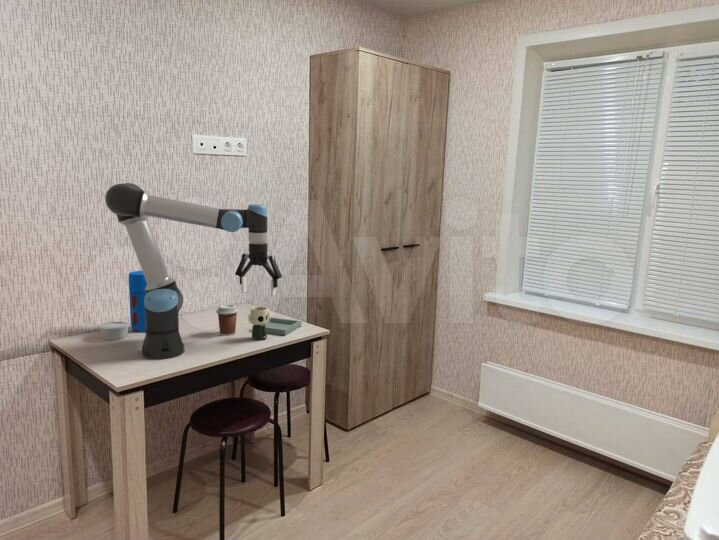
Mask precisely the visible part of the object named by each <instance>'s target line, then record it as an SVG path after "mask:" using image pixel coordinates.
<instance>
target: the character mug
mask: <svg viewBox="0 0 719 540" xmlns="http://www.w3.org/2000/svg"><path fill="white" fill-rule="evenodd" d="M270 315H271V312H270V310H269V308H268V307H267V306H253V307H251V308H250V314H249V315H248V317H247V318H248V319H247V320H248V323H251V324H252V326H253V325H254V326H253V331H251V338H253V339H254V340H264V339H268V338H267V336H268V335H267V334H268V333H266V326H265V324H267V322H268V318H270V317H271V316H270Z"/></svg>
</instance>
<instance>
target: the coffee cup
mask: <svg viewBox="0 0 719 540" xmlns="http://www.w3.org/2000/svg"><path fill="white" fill-rule="evenodd" d="M236 306H237V305H235V304H222V305H219V306H218V308H217V309H216V311H215V313H216V314H217V316H218V317H217V318H218V325H219V335H220V336H225V337H227V336H233V335H236V328H237V314H238V312H239V309H238V308H237V307H236Z"/></svg>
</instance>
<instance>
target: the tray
mask: <svg viewBox="0 0 719 540" xmlns="http://www.w3.org/2000/svg"><path fill="white" fill-rule="evenodd" d="M251 326H252V327H251V328H252V331H253V326H254V324H252V325H251ZM265 326H266V333H267V334H269V335H276V336H277V335H278V336H285V337H286V336H287V335H289V334H291V333H292V332H294V331H297V330H298V329H299V328H301V327H302V320H298V319H297V320H296V319H287V318H280V317H274V316H273V317H271V316H270V318H268V322H267V324H265ZM297 328H298V329H297ZM252 331H251V332H252Z"/></svg>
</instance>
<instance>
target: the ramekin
mask: <svg viewBox="0 0 719 540" xmlns="http://www.w3.org/2000/svg"><path fill="white" fill-rule="evenodd" d="M129 327H130V324H129V323H128V322H125V321H109V322H104V323H101V324H99V325H98V329H99V332H100V333H99V334H100V337H101V338H102V340H105V341H119V340H123V339H125V338H126V337H127V336H128V333H129Z"/></svg>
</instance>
